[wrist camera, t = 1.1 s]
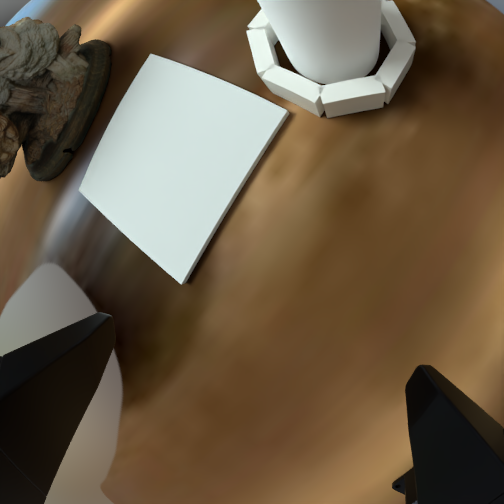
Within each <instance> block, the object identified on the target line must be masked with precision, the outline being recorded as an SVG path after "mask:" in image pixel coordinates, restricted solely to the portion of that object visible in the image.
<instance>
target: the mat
mask: <svg viewBox="0 0 504 504" xmlns="http://www.w3.org/2000/svg"><path fill="white" fill-rule="evenodd" d="M288 115H289V112H288V111H287V110H285V109H283V108H281V107H279V106H277V105H275V104H273V103H271V102H269V101H267V100H265V99H263V98H261V97H259V96H257V95H255V94H253V93H250V92H248V91H246V90H244V89H242V88H239V87H237V86H235V85H233V84H230V83H228V82H226V81H223V80H221V79H218V78H216V77H214V76H211V75H209V74H206V73H204V72H201V71H198V70H196V69H193V68H191V67H188V66H185V65H182V64H180V63H177V62H174V61H171V60H168V59H165V58H162V57H159V56H156V55H153V54H150V56H149V57H148V59H147V60H146V62H145V63H144V65H143V66H142V68H141V69H140V71H139V72H138V74H137V76H136V77H135V79H134V81H133V82H132V84H131V85H130V87H129V89H128V91H127V92H126V94H125V96H124V97H123V99H122V101H121V103H120V104H119V106H118V108H117V110H116V112H115V114H114V115H113V117H112V119H111V121H110V123H109V125H108V127H107V129H106V131H105V133H104V135H103V137H102V139H101V141H100V143H99V145H98V147H97V149H96V151H95V154H94V156H93V158H92V160H91V162H90V165H89V167H88V169H87V171H86V174H85V176H84V178H83V181H82V183H81V186H80V188H79V191H80V192H81V193H82V194H83V195H84V196H85V197H86V198H87V199H88V200H89V201H90V202H91V203H92V204H93V205H94V206H95V207H96V208H97V209H98V210H99V211H100V212H101V213H102V214H104V215H105V216H106V217H107V218H108V219H109V220H110V221H111V222H112V223H113V224H114V225H115V226H116V227H117V228H118V229H119V230H120V231H122V232H123V233H124V234H125V235H126V236H127V237H128V238H129V239H130V240H131V241H132V242H134V243H135V244H136V245H137V246H138V247H139V248H140V249H141V250H142V251H143V252H145V253H146V254H147V255H148V256H149V257H150V258H151V259H152V260H154V261H155V262H156V263H157V264H158V265H159V266H160V267H162V268H163V269H164V270H165V271H166V272H167V273H168V274H170V275H171V276H172V277H173V278H174V279H175V280H177V281H178V282H179V283H180V284H184V283H186V281H187V280H188V278H189V276H190V274H191V273H192V271H193V269H194V268H195V266H196V264H197V262H198V261H199V259H200V257H201V255H202V254H203V252H204V250H205V249H206V247H207V245H208V243H209V242H210V240H211V238H212V237H213V235H214V233H215V232H216V230H217V228H218V227H219V225H220V223H221V222H222V220H223V218H224V217H225V215H226V213H227V212H228V210H229V208H230V207H231V205H232V203H233V202H234V200H235V199H236V197H237V195H238V194H239V192H240V190H241V189H242V187H243V186H244V184H245V182H246V181H247V179H248V177H249V176H250V174H251V173H252V171H253V169H254V168H255V166H256V165H257V163H258V162H259V160H260V158H261V157H262V155H263V154H264V152H265V151H266V149H267V147H268V146H269V144H270V143H271V141H272V140H273V138H274V136H275V135H276V133H277V132H278V130H279V129H280V127H281V126H282V124H283V123H284V121H285V120H286V118H287V117H288Z"/></svg>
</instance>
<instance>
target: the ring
mask: <svg viewBox="0 0 504 504" xmlns="http://www.w3.org/2000/svg"><path fill="white" fill-rule="evenodd" d="M248 28H249V29H250V30H248V31H246V32H247V36H248V39H249V43H250V47H251V51H252V54H253V58H254V62H255V66H256V70H257V73H258V75H259V76H260V77H261V79H262V80H263V81H264V83H265V84H266V86H267V87H268V88H269V89H270V90H271V92H272V93H274V94H276V95H278V96H280V97H282V98H284V99H286V100H288V101H290V102H292V103H294V104H296V105H298V106H300V107H302V108H304V109H306V110H308V111H310V112H311V113H313V114H315V115H317V116H319V117H321V115H322V114H323V112H324V110H325V113H326V116H327V118H331V117H335V116H340V115H345V114H350V113H355V112H360V111H366V110H371V109H377V108H383V104H384V102H385V103H387V104H389V102H390V100H391V99H392V97H393V95H394V94H395V92H396V90H397V89H398V87H399V85H400V84H401V82H402V80H403V78H404V77H405V75H406V73H407V72H408V70H409V68H410V67H411V64H412V60H413V57H414V53H415V49H416V47H415V43H416V41H415V39H414V37H413V35H412V33H411V31H410V29H409V28H408V26H407V24H406V22H405V20H404V19H403V17H402V15H401V13H400V12H399V10H398V8H397V7H396V5H395V3H394V2H393V1H388V0H381V29H380V30H381V32H382V34H383V36H384V38H385V40H386V42H387V44H388V46H389V48H390V50H391V51H390V53H389V54H388V56H387V58H386V59H385V61H384V62H383V64H382V65H381V67H380V69H379V70H378V72H377V73H376V75H375V76H368V77H363V78H357V79H352V80H346V81H341V82H336V83H332V84H327V85H322V86H321V85H319V84H317V83H315V82H313V81H311V80H309V79H306V78H304V77H302V76H300V75H298V74H296V73H293V72H291V71H289V70H286V69H284V68H282V67H280V64H279V61H278V58H277V54H276V51H275V48H274V45H275V44H276V43H277V41H278V40H279V39H278V37H277V35H276V33H275V31H274V30H273V28H272V26H271V24H270V22H269V20H268V19H267V17H266V15H265V13H264V11H263V10H262V9H261V10H260V11H259V13H258V14H257V15H256V16H255V18H254V19H253V20H252V21H251V23H250V24H249V25H248Z"/></svg>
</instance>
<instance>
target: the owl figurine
mask: <svg viewBox="0 0 504 504" xmlns="http://www.w3.org/2000/svg"><path fill="white" fill-rule="evenodd" d="M80 36H81V27H80V26H78V25H76V24H75V25H73V26H72V27H70V29H68V31H67V32H66V33H64V34H63V35H62V36H61V38H59V35H58V32H57V30H56V29H55V27H54V26H53V25H51V24H50V23H46V24H45V23H42V21H40V20H32V19H30V18H29V17H25V18H22V19H21V20H19V21H17V22H15V24H12V25H10V26H5V27H0V178H1V177H5V176H6V175H7V174H8V173H10V171H11V169H12V167H13V165H14V161H15V158H16V156H17V151H18V150H19V148H20V147H21V145H22V148H23V151H24V158H25V164H26V167H27V169H28V170H29V172H30V175H31V176H32V178H33V179H35V180H37V181H48V180H51V179H52V178H54V177H56V176H58V175H59V174H60V173H61V172H62V171H63V169H64V168H65V167H66V165H67V163H68V162H69V161H70V160H71V159H72V157H73V155H72V154H71V153H68V152H67V153H66V152H65V153H63V150H64V149H68V148H71V150H72V151H75V150H76V149H77V148H78V147H79V146H80V145H81V143H82V142H83V140H84V138H85V136H86V134H87V132H88V129H89V128H90V126H91V123H92V121H93V119H94V117H95V115H96V113H97V111H98V108H99V105H100V103H101V100H102V97H103V95H104V92H105V89H106V86H107V83H108V79H109V75H110V69H111V61H110V59H111V58H109V54H110V55H111V49H110V47H109V46H108V45H107V44H106V43H105V42H103V41H101V40H91V41H88V42H86V43H84V44H81V45H80V44H79V38H80Z"/></svg>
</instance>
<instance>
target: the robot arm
mask: <svg viewBox="0 0 504 504" xmlns="http://www.w3.org/2000/svg"><path fill="white" fill-rule="evenodd" d="M115 341H116V336H115V329H114V321H113V317H112V316H111V315H108V314H105V313H101V312H98V313H96V314H94V315H91V316H89V317H87V318H85V319H83V320H80V321H78V322H76V323H74V324H71V325H69V326H67V327H65V328H62V329H60V330H58V331H56V332H54V333H51V334H49V335H47V336H45V337H43V338H40V339H38V340H36V341H34V342H31V343H29V344H27V345H25V346H22V347H20V348H18V349H16V350H14V351H11V352H9V353H7V354H5V355H3V357H2V356H0V504H44V502H45V500H46V496H47V494H48V492H49V490H50V487H51V485H52V482H53V480H54V478H55V476H56V473H57V471H58V469H59V466H60V464H61V462H62V460H63V457H64V455H65V453H66V451H67V449H68V446H69V445H70V442H71V440H72V438H73V436H74V434H75V432H76V430H77V428H78V426H79V424H80V422H81V420H82V418H83V416H84V414H85V411H86V410H87V407H88V405H89V404H90V402H91V400H92V398H93V396H94V394H95V392H96V390H97V388H98V385H99V383H100V381H101V378H102V376H103V373H104V370H105V368H106V365H107V363H108V360H109V358H110V355H111V353H112V350H113V348H114V345H115ZM405 393H406V404H407V416H408V430H409V438H410V444H411V451H412V458H413V465H414V467H413V468H412V469H411V470H409V471H408V472H407V473H405V474H404V475H402V476H401V477H400V478H398V479H397V480H396V481H394V482H393V483H392V488H393V489H394V490H396V491H398V492H400V493H402V494H404V495H405V502H406V504H504V429H503V427H502V426H501V425H500V424H499V423H498V422H496V421H495V420H494V419H493V418H492V417H491V416H490V415H488V414H487V413H486V412H485V411H484V410H483V409H482V408H480V407H479V406H478V405H477V404H476V403H475V402H473V401H472V400H471V399H470V398H469V397H468V396H467V395H465V394H464V393H463V392H462V391H461V390H459V389H458V388H457V387H456V386H455V385H454V384H452V383H451V382H450V381H449V380H448V379H447V378H445V377H444V376H443V375H442V374H441V373H439V372H438V371H437V370H436V369H435V368H433V367H432V366H431V365H419V366H418V367H417V368H416V369H415V371H414V372H413V374H412V376H411V377H410V379H409V380H408V382H407V384H406V388H405Z"/></svg>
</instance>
